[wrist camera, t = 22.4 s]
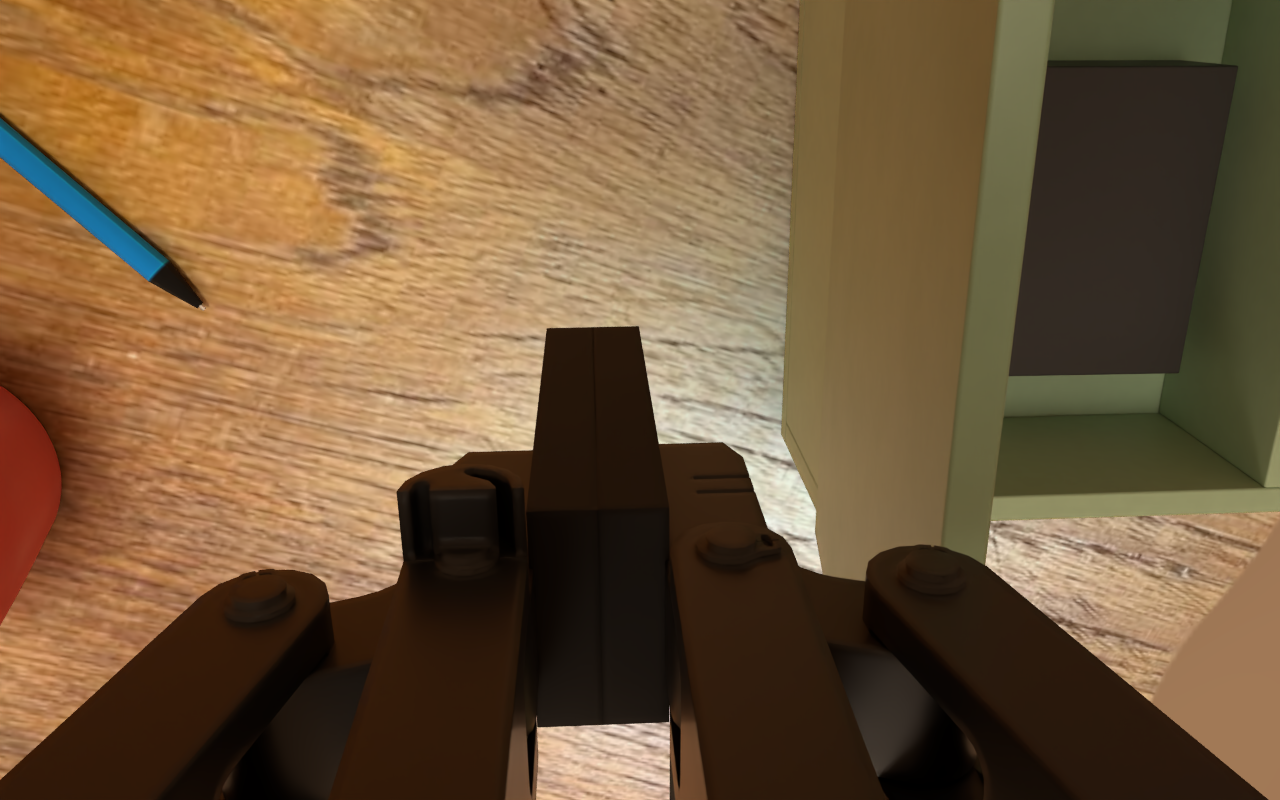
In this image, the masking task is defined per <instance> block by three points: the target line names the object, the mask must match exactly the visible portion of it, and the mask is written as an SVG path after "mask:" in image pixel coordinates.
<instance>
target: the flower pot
mask: <svg viewBox="0 0 1280 800" xmlns="http://www.w3.org/2000/svg"><path fill="white" fill-rule="evenodd" d="M61 487H62V484H61V471H60V466H59V462H58V458H57V454H56V452H55V449H54V447H53V444H52V442H51V440H50V438H49V436H48V434H47V433H46V431H45V429H44V428H43V426H42V425H41V423H40V422H39V421H38V419H37V418H36V417H35V416H34V415H33V413H32V412H31V411H30V410H29V409H28V408H27V407H26V406H25V405H24V404H23V403H22V402H21V401H20V400H19V399H18V398H16V397H15V396H14V395H13V394H11V393H10V392H9V391H8V390H6V389H5V388H3V387H2V386H0V625H1V623H2V621H3V620H4V618H5V616H6V614H7V613H8V611H9V609H10V607H11V605H12V604H13V602H14V600H15V598H16V596H17V595H18V593H19V591H20V589H21V587H22V585H23V583H24V581H25V579H26V577H27V575H28V573H29V571H30V569H31V567H32V565H33V563H34V561H35V559H36V557H37V555H38V553H39V551H40V549H41V547H42V545H43V543H44V541H45V538H46V536H47V534H48V532H49V530H50V529H51V527H52V525H53V523H54V521H55V518H56V515H57V512H58V508H59V504H60V498H61Z"/></svg>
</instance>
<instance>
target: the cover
mask: <svg viewBox="0 0 1280 800" xmlns="http://www.w3.org/2000/svg"><path fill="white" fill-rule="evenodd" d="M1054 5H1055V0H846V2H845V20H844V37H843V55H842V72H841V89H840V107H839V124H838V142H837V159H836V177H835V194H834V211H833V229H832V246H831V264H830V281H829V299H828V316H827V334H826V351H825V368H824V386H823V403H822V421H821V438H820V456H819V473H818V490H817V508H816V525H815V534H816V539H817V545H818V550H819V556H820V561H821V567H822V572H823V575H828V576H833V577H839V578H846V579H853V580H860V581H865V577H866V570H867V565H868V561H869V560H871V559H872V558H873V557H874V556H876V555H877V554H878V553H879V552H882V551H885V550H889V549H892V548H895V547H899V546H915V545H917V544H924V545H931V547H934V545H936V546H941V547H946V548H949V549H950V550H952V551H956V552H959V553H962V554H965V555H968V556H970V557H972V558H974V559H975V560H977V561H979V562H980V563H982V564H984V565H985V561H986V553H987V545H988V537H989V529H990V521H991V513H992V505H993V497H994V489H995V481H996V473H997V465H998V456H999V448H1000V440H1001V432H1002V424H1003V416H1004V408H1005V400H1006V392H1007V384H1008V376H1009V368H1010V360H1011V352H1012V344H1013V336H1014V327H1015V319H1016V311H1017V303H1018V295H1019V287H1020V279H1021V271H1022V263H1023V255H1024V247H1025V239H1026V231H1027V223H1028V215H1029V206H1030V198H1031V190H1032V182H1033V174H1034V166H1035V158H1036V150H1037V142H1038V134H1039V126H1040V118H1041V110H1042V102H1043V94H1044V85H1045V77H1046V69H1047V61H1048V53H1049V45H1050V37H1051V29H1052V21H1053V13H1054Z"/></svg>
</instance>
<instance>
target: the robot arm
mask: <svg viewBox="0 0 1280 800" xmlns="http://www.w3.org/2000/svg"><path fill="white" fill-rule="evenodd" d="M397 500H398V510H399V520H400V530H401V540H402V550H403V559H404V562H403V565H402V568H401V572H400V575H399V578H398V581H397V584H395V585H393V586H390V587H388V588H385V589H383V590H381V591H378V592H375V593H371V594H367V595H364V596H360V597H355V598H351V599H346V600H341V601H336V602H332V603H330V602H329V595H328V591H327V588H326V584H325V583H324V582H323V581H321V580H320V579H319V578H317V577H316V576H314V575H313V574H309V573H305V572H300V571H296V570H274V569H266V570H259V572H255V571H253V572H249V573H245V574H242V575H240V576H239V577H237V578H234V579H231V580H229V581H226V582H224V583H221V584H219V585H217V586H216V587H214V588H213V589H211V590H210V591H208V592H207V593H205V594H204V595H202V596H201V597H200V598H198V599H197V600H196V601H195V602H194V603H193V604H192V605H191V606H190V607H189V608H188V609H186V610H185V611H184V612H183V613H182V614H181V615H180V616H179V617H178V618H177V619H176V620H174V621H173V622H172V623H171V624H170V625H169V626H168V627H167V628H166V629H165V630H163V631H162V632H161V633H160V634H159V635H158V636H157V637H156V638H155V639H154V640H153V641H151V642H150V643H149V644H148V645H147V646H146V647H145V648H144V649H143V650H142V651H141V652H139V653H138V654H137V655H136V656H135V657H134V658H133V659H132V660H131V661H130V662H129V663H127V664H126V665H125V666H124V667H123V668H122V669H121V670H120V671H119V672H118V673H117V674H115V675H114V676H113V677H112V678H111V679H110V680H109V681H108V682H107V683H106V684H105V685H103V686H102V687H101V688H100V689H99V690H98V691H97V692H96V693H95V694H94V695H93V696H91V697H90V698H89V699H88V700H87V701H86V702H85V703H84V704H83V705H82V706H81V707H79V708H78V709H77V710H76V711H75V712H74V713H73V714H72V715H71V716H70V717H68V718H67V719H66V720H65V721H64V722H63V723H62V724H61V725H60V726H59V727H58V728H56V729H55V730H54V731H53V732H52V733H51V734H50V735H49V736H48V737H47V738H46V739H44V740H43V741H42V742H41V743H40V744H39V745H38V746H37V747H36V748H35V749H34V750H32V751H31V752H30V753H29V754H28V755H27V756H26V757H25V758H24V759H23V760H22V761H20V762H19V763H18V764H17V765H16V766H15V767H14V768H13V769H12V770H11V771H10V772H8V773H7V774H6V775H5V776H4V777H3V778H2V779H1V780H0V800H536V789H537V772H538V742H537V727H558V726H583V725H609V724H634V723H659V722H669V707H670V800H1268V799H1267V798H1266V797H1264V796H1263V795H1262V794H1261V793H1259V792H1258V791H1257V790H1256V789H1255V788H1254V787H1252V786H1251V785H1250V784H1249V783H1248V782H1246V781H1245V780H1244V779H1243V778H1241V777H1240V776H1239V775H1238V774H1237V773H1235V772H1234V771H1233V770H1232V769H1230V768H1229V767H1228V766H1227V765H1226V764H1224V763H1223V762H1222V761H1221V760H1220V759H1219V758H1217V757H1216V756H1215V755H1214V754H1212V753H1211V752H1210V751H1209V750H1208V749H1206V748H1205V747H1204V746H1203V745H1202V744H1200V743H1199V742H1198V741H1197V740H1196V739H1194V738H1193V737H1192V736H1190V734H1188V733H1187V732H1186V731H1185V730H1184V729H1182V728H1181V727H1180V726H1179V725H1178V724H1176V723H1175V722H1174V721H1173V720H1171V719H1170V718H1169V717H1168V716H1167V715H1166V714H1164V713H1163V712H1162V711H1161V710H1159V709H1158V708H1157V707H1156V706H1154V705H1153V704H1152V703H1151V702H1150V701H1149V700H1147V699H1146V698H1145V697H1144V696H1143V695H1141V694H1140V693H1139V692H1138V691H1137V690H1135V689H1134V688H1133V687H1132V686H1131V685H1129V684H1128V683H1127V682H1126V681H1124V680H1123V679H1122V678H1121V677H1120V676H1118V675H1117V674H1116V673H1115V672H1114V671H1112V670H1111V669H1110V668H1109V667H1108V666H1106V665H1105V664H1104V663H1103V662H1102V661H1100V660H1099V659H1098V658H1097V657H1096V656H1094V655H1093V654H1092V653H1091V652H1090V651H1088V650H1087V649H1086V648H1085V647H1083V646H1082V645H1081V644H1080V643H1079V642H1077V641H1076V640H1075V639H1074V638H1073V637H1071V636H1070V635H1069V634H1068V633H1067V632H1065V631H1064V630H1063V629H1062V628H1061V627H1059V626H1058V625H1057V624H1056V623H1055V622H1053V621H1052V620H1051V619H1050V618H1048V617H1047V616H1046V615H1045V614H1044V613H1042V612H1041V611H1040V610H1039V609H1038V608H1036V607H1035V606H1034V605H1033V604H1032V603H1030V602H1029V601H1028V600H1027V599H1026V598H1024V597H1023V596H1022V595H1021V594H1020V593H1018V592H1017V591H1016V590H1015V589H1014V588H1012V587H1011V586H1010V585H1009V584H1007V583H1006V582H1005V581H1004V580H1003V579H1001V578H1000V577H999V576H998V575H997V574H995V573H994V572H993V571H992V570H991V569H989V568H988V567H987V566H985V565H984V564H982V563H980V562H979V561H977V560H975V559H974V558H972V557H970V556H968V555H965V554H962V553H959V552H956V551H952V550H950V549H949V548H946V547H941V546H936V545H934V547H931V545H924V544H917V545H915V546H899V547H895V548H892V549H889V550H885V551H882V552H879V553H878V554H877V555H876V556H874V557H873V558H872V559H871V560H869V561H868V565H867V570H866V577H865V581H860V580H853V579H846V578H839V577H833V576H828V575H823V574H819V573H815V572H812V571H810V570H807V569H804V568H801V567H799V566H798V564H797V561H796V558H795V556H794V553H793V550H792V548H791V547H790V545H789V544H788V543H787V542H786V540H785V539H784V538H783V537H782V536H780V535H778V534H777V533H775V532H773V531H771V530H769V529H768V528H767V525H766V522H765V519H764V516H763V513H762V511H761V508H760V505H759V502H758V499H757V496H756V493H755V492H754V488H753V485H752V482H751V479H750V478H749V473H748V471H747V468H746V465H745V462H744V459H743V457H742V456H741V455H739V454H738V453H736V452H735V451H734V450H732V449H731V448H730V447H728V446H727V445H726V444H724V443H723V442H719V443H683V444H659V443H658V437H657V431H656V425H655V419H654V413H653V408H652V402H651V396H650V390H649V384H648V378H647V372H646V366H645V360H644V355H643V349H642V343H641V337H640V331H639V326H631V327H587V328H547V332H546V341H545V349H544V358H543V367H542V376H541V385H540V393H539V402H538V411H537V420H536V429H535V437H534V446H533V450H531V451H495V452H468V453H467V454H466V455H464V456H463V457H462V458H461V459H459V460H458V461H457V462H456V463H455V464H453V465H450V466H442V467H439V468H435V469H432V470H428V471H425V472H421V473H420V474H418V475H416V476H414V477H412V478H410V479H408V480H407V481H405V482H404V483H403V485H402V486H401V487H400V488H399V489H398V491H397ZM536 716H537V723H536Z"/></svg>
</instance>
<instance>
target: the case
mask: <svg viewBox="0 0 1280 800" xmlns="http://www.w3.org/2000/svg"><path fill="white" fill-rule="evenodd" d="M845 2H846V0H800V8H799V31H798V55H797V78H796V102H795V125H794V148H793V172H792V195H791V218H790V242H789V265H788V289H787V312H786V335H785V359H784V382H783V405H782V429H781V435H782V437H783V439H784V441H785V443H786V445H787V448H788V450H789V452H790V454H791V456H792V459H793V461H794V463H795V465H796V467H797V469H798V472H799V474H800V476H801V478H802V480H803V482H804V485H805V487H806V489H807V491H808V493H809V496H810V498H811V500H812V502H813V504H814V506H815V509H816V508H817V490H818V473H819V456H820V438H821V421H822V403H823V386H824V368H825V351H826V334H827V316H828V299H829V281H830V264H831V246H832V229H833V211H834V194H835V177H836V159H837V142H838V124H839V107H840V89H841V72H842V55H843V37H844V20H845ZM1048 60H1185V61H1195V62H1206V63H1216V64H1227V65H1236V66H1238V71H1237V77H1236V82H1235V87H1234V92H1233V97H1232V102H1231V108H1230V113H1229V118H1228V123H1227V128H1226V133H1225V138H1224V144H1223V149H1222V154H1221V159H1220V164H1219V169H1218V175H1217V180H1216V185H1215V190H1214V195H1213V200H1212V205H1211V211H1210V216H1209V221H1208V226H1207V231H1206V236H1205V242H1204V247H1203V252H1202V257H1201V262H1200V267H1199V272H1198V278H1197V283H1196V288H1195V293H1194V298H1193V303H1192V309H1191V314H1190V319H1189V324H1188V329H1187V334H1186V339H1185V345H1184V350H1183V355H1182V360H1181V365H1180V370H1179V373H1166V374H1109V375H1052V376H1008V384H1007V392H1006V400H1005V408H1004V416H1003V424H1002V432H1001V440H1000V448H999V456H998V465H997V473H996V481H995V489H994V497H993V505H992V513H991V521H1002V520H1033V519H1065V518H1096V517H1128V516H1160V515H1191V514H1223V513H1254V512H1280V0H1055V5H1054V13H1053V21H1052V29H1051V37H1050V45H1049V53H1048Z"/></svg>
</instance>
